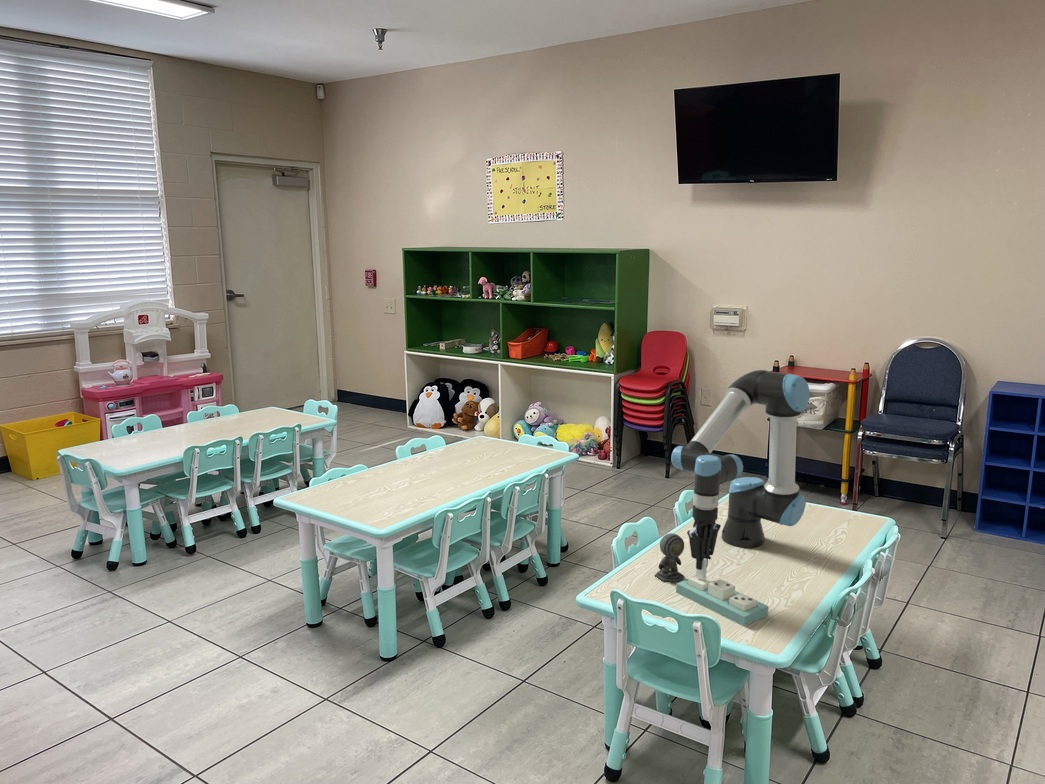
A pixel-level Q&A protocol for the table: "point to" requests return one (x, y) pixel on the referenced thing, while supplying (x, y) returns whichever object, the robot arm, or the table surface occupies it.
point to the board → (722, 605)
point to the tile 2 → (721, 590)
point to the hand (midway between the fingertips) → (701, 577)
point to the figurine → (670, 558)
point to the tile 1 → (699, 583)
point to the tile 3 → (742, 602)
